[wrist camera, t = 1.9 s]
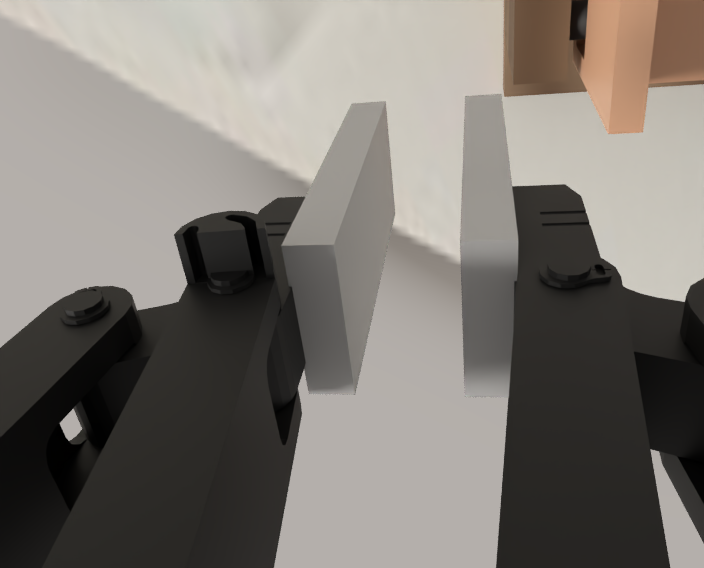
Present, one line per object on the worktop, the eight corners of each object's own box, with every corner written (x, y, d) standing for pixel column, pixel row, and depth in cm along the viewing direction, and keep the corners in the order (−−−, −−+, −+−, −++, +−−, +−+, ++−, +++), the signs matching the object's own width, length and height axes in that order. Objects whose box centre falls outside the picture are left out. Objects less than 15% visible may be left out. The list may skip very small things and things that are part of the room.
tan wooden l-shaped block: (703, -58, 25) (801, -22, 18) (687, 52, 27) (769, 125, 20) (578, -45, 26) (620, -6, 19) (572, 60, 28) (608, 134, 21)
